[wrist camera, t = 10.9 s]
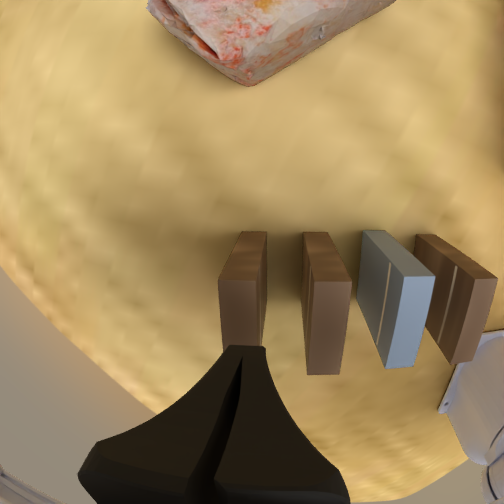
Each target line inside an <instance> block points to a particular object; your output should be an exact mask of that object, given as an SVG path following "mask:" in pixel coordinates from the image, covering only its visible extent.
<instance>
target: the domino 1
mask: <svg viewBox="0 0 504 504" xmlns="http://www.w3.org/2000/svg"><path fill="white" fill-rule="evenodd" d="M218 291H219V305H220V318H221V330H222V343H223V352H224V351H225V349H226V348H227V347H228V346H229V345H249V346H261V344H262V336H263V328H264V321H265V312H266V304H267V232H242V233H241V235H240V237H239V239H238V241H237V243H236V245H235V247H234V249H233V250H232V252H231V254H230V256H229V258H228V260H227V262H226V264H225V266H224V268H223V270H222V272H221V274H220V276H219V278H218Z"/></svg>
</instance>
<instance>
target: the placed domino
mask: <svg viewBox="0 0 504 504" xmlns="http://www.w3.org/2000/svg"><path fill="white" fill-rule="evenodd" d="M434 281H435V275H434V274H433V273H432V272H430V271H429V270H428V269H427V268H426V267H425V266H424V265H423V264H422V263H421V262H420V261H419V260H418V259H417V258H415V257H414V256H413V255H412V254H411V253H410V252H409V251H408V250H407V249H406V248H404V247H403V246H402V245H401V244H400V243H399V242H398V241H397V240H395V239H394V238H393V237H392V236H391V235H390V234H389V233H387V232H386V231H381V230H363V235H362V248H361V259H360V270H359V279H358V288H357V297H356V299H357V302H358V304H359V306H360V308H361V311H362V313H363V315H364V318H365V320H366V323H367V325H368V327H369V330H370V332H371V335H372V337H373V340H374V342H375V345H376V347H377V350H378V352H379V355H380V357H381V360H382V362H383V365H384V367H385V369H390V368H402V367H412V366H413V365H414V362H415V359H416V356H417V352H418V349H419V345H420V342H421V338H422V334H423V330H424V326H425V322H426V318H427V314H428V310H429V305H430V301H431V296H432V292H433V287H434Z"/></svg>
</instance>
